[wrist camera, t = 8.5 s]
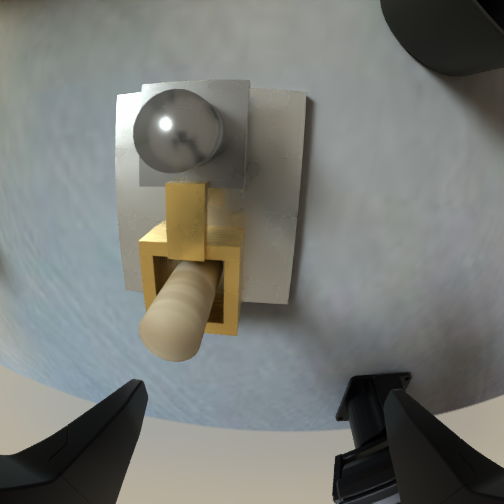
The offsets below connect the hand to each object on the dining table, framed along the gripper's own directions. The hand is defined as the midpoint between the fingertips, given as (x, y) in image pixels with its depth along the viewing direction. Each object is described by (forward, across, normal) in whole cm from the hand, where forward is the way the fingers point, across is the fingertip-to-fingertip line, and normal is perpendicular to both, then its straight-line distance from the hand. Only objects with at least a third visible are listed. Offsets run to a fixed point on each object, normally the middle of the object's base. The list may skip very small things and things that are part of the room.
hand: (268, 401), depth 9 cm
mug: (+12, -13, -19) cm, 26 cm away
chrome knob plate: (+12, +4, -5) cm, 13 cm away
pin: (+11, +4, 0) cm, 12 cm away
